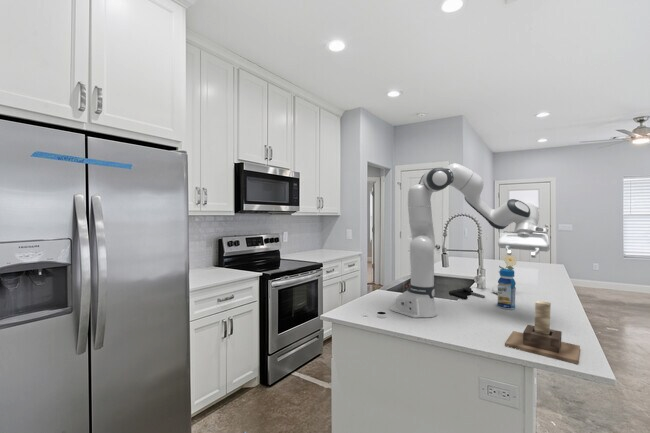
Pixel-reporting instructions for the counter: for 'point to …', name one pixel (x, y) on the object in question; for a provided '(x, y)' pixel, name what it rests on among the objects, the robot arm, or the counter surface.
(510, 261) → the flower in vase
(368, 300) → the counter surface
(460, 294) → the door handle
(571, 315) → the counter surface
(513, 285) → the beverage bottle
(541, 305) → the upright wooden square peg
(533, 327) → the square hole base plate
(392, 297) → the counter surface
